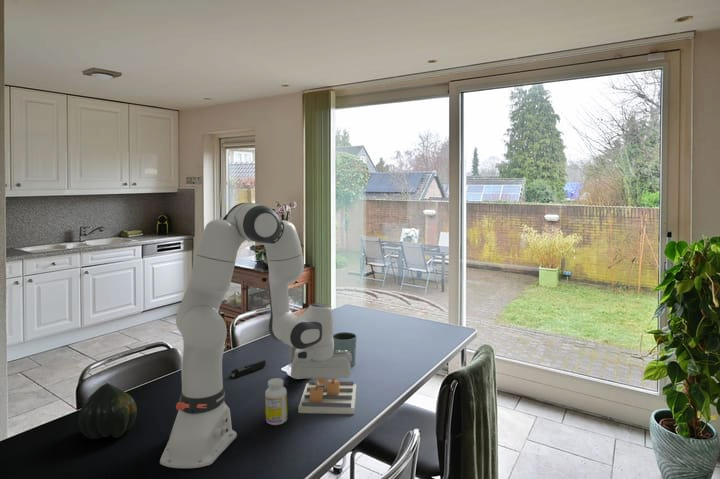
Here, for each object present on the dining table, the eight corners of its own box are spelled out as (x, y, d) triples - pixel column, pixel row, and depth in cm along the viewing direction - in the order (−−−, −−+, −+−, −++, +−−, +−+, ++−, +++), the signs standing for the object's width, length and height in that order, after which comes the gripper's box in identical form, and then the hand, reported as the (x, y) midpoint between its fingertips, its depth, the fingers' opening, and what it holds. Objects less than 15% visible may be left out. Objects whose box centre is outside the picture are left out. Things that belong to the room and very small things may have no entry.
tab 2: (327, 389, 158) (327, 375, 158) (315, 389, 159) (315, 375, 158) (328, 385, 161) (328, 372, 161) (317, 385, 162) (316, 371, 161)
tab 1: (322, 404, 148) (321, 389, 147) (309, 404, 148) (309, 389, 147) (323, 400, 151) (322, 385, 150) (311, 399, 151) (311, 385, 150)
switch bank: (354, 414, 145) (354, 404, 145) (298, 412, 146) (298, 403, 146) (356, 389, 163) (356, 380, 163) (306, 388, 164) (306, 380, 164)
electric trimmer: (267, 368, 183) (267, 361, 183) (234, 380, 172) (234, 372, 172) (262, 366, 186) (262, 358, 186) (229, 377, 174) (228, 369, 174)
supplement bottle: (277, 413, 146) (277, 374, 145) (291, 419, 142) (291, 380, 140) (261, 421, 141) (260, 381, 139) (275, 428, 137) (274, 387, 135)
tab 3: (338, 396, 153) (338, 382, 152) (327, 396, 153) (326, 382, 152) (339, 392, 156) (339, 378, 155) (327, 392, 156) (327, 378, 155)
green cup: (360, 366, 185) (360, 338, 183) (336, 370, 181) (336, 341, 180) (351, 358, 194) (351, 330, 193) (328, 361, 190) (328, 333, 189)
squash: (106, 435, 122) (127, 380, 131) (58, 432, 125) (82, 378, 134) (135, 446, 134) (152, 395, 142) (90, 443, 136) (110, 393, 145)
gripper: (351, 347, 156) (351, 385, 158) (292, 347, 156) (293, 385, 158) (351, 353, 150) (351, 393, 152) (289, 353, 150) (290, 393, 151)
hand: (321, 389), depth 155 cm, fingers closed
